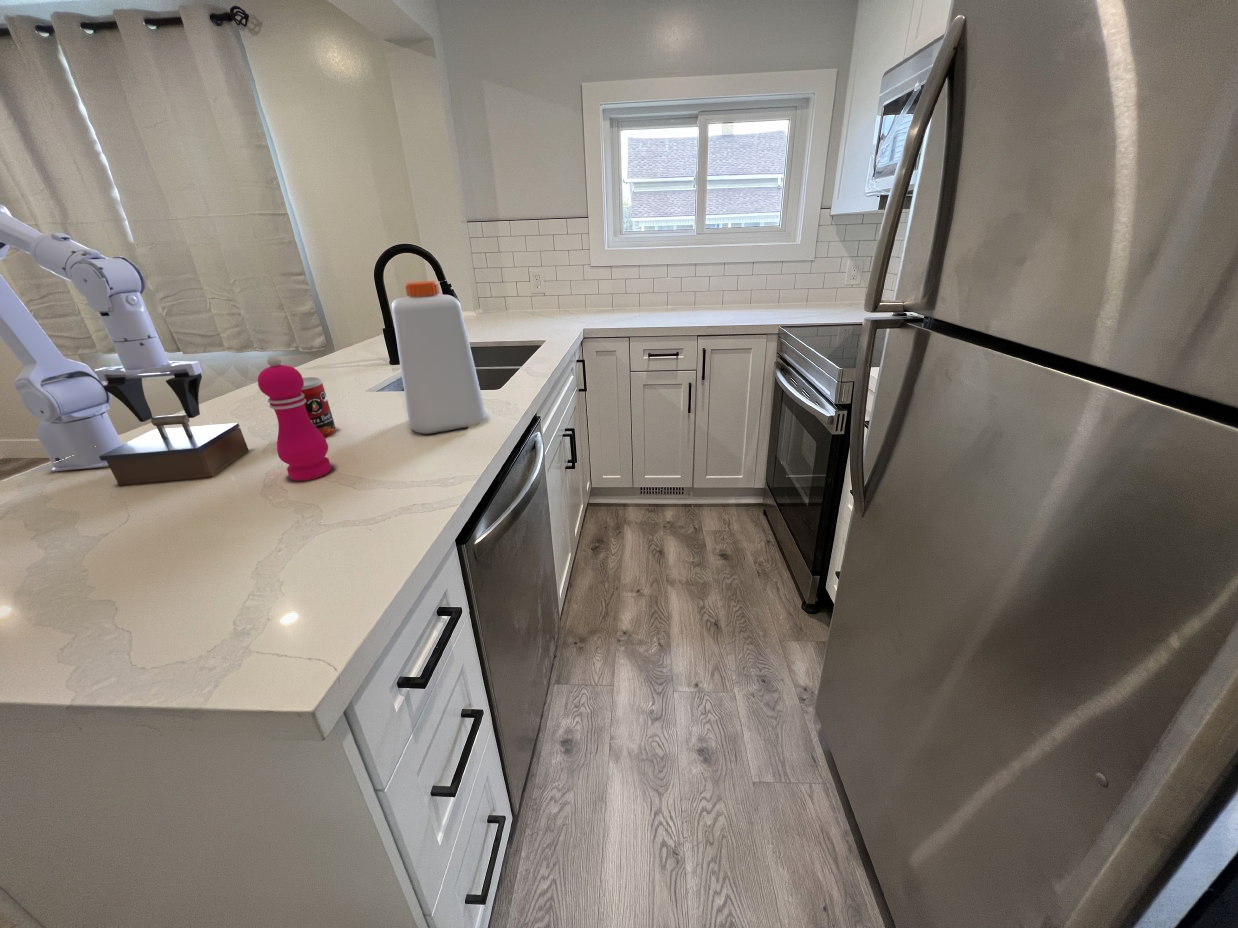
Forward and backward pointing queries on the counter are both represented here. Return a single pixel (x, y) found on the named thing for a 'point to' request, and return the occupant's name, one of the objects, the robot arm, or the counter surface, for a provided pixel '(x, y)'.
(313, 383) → the canned food
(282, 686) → the counter surface
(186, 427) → the lid
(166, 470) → the chest
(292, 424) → the pepper mill
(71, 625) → the counter surface
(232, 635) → the counter surface
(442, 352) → the plastic bottle
